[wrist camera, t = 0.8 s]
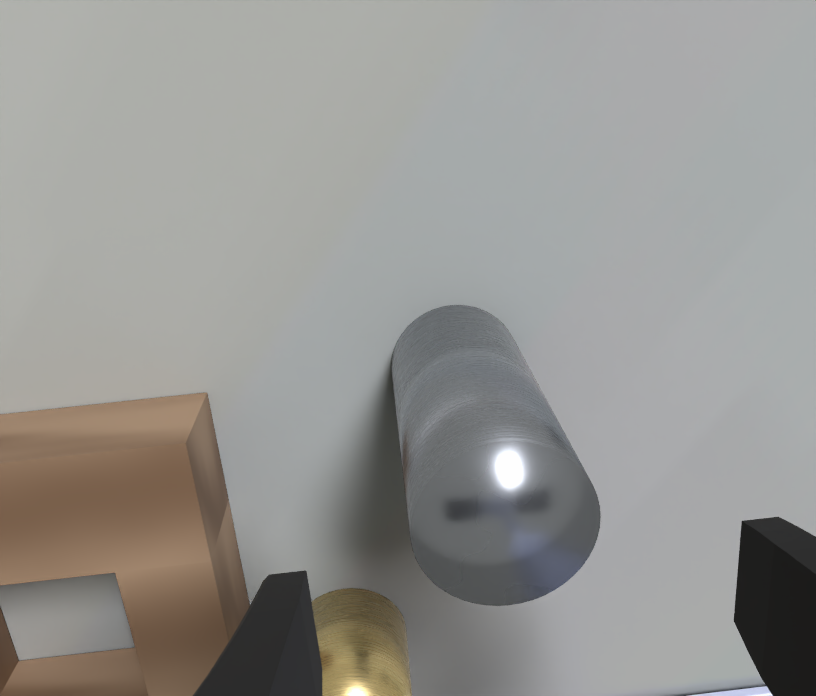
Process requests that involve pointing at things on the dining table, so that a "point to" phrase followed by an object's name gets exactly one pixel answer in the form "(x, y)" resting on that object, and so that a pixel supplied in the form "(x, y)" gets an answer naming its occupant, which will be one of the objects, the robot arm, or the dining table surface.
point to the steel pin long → (486, 463)
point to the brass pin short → (361, 644)
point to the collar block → (123, 539)
